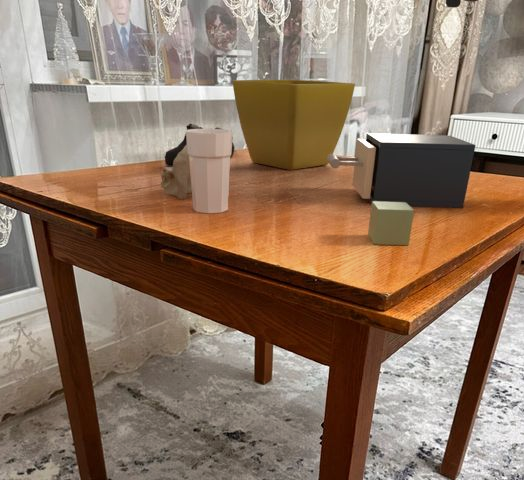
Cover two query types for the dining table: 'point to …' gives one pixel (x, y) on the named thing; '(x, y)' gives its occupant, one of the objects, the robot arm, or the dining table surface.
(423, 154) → the cabinet
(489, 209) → the dining table surface
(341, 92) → the flower pot
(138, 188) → the dining table surface
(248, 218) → the dining table surface
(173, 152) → the game controller
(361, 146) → the drawer
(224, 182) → the cup
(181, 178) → the beige rough lump
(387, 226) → the block
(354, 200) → the dining table surface
